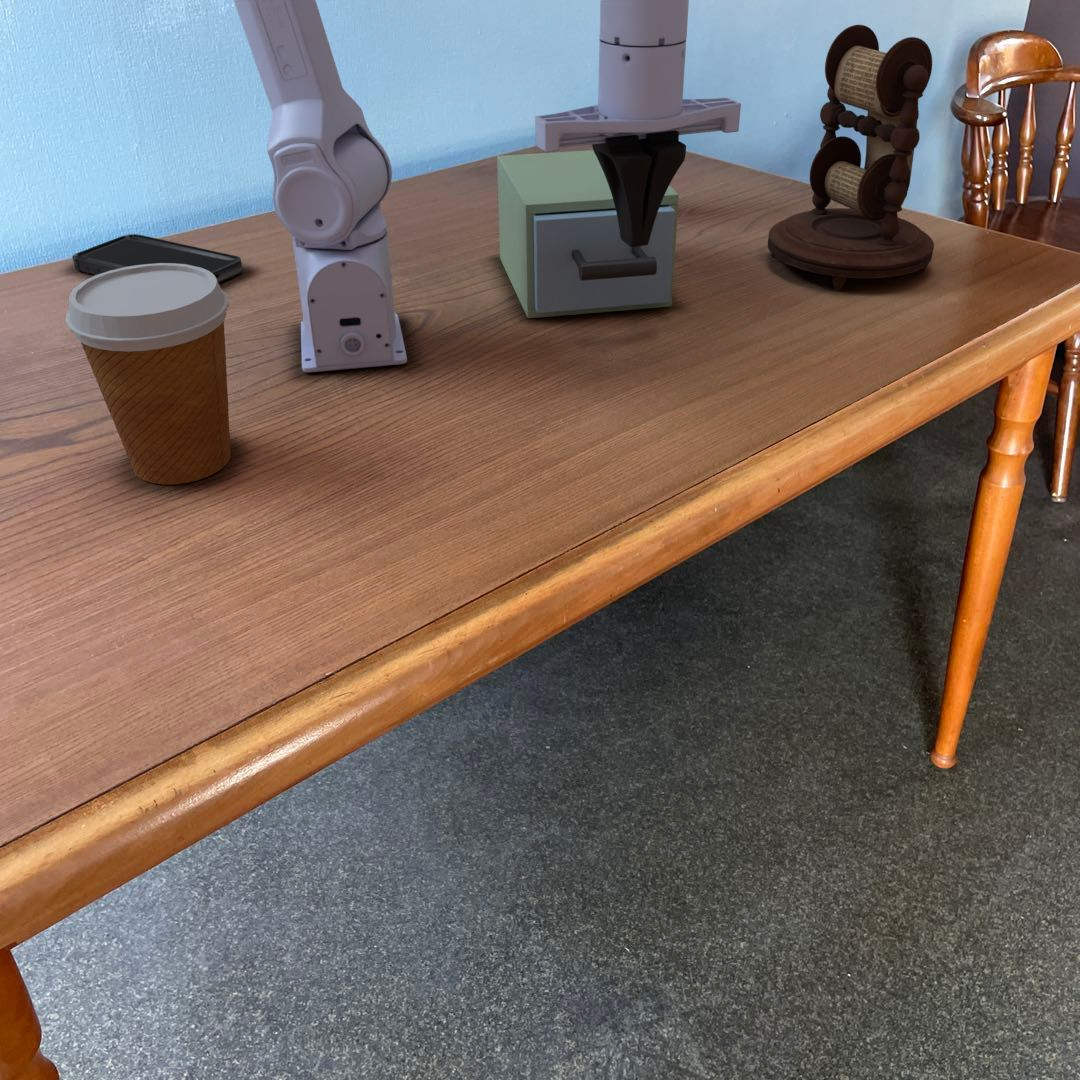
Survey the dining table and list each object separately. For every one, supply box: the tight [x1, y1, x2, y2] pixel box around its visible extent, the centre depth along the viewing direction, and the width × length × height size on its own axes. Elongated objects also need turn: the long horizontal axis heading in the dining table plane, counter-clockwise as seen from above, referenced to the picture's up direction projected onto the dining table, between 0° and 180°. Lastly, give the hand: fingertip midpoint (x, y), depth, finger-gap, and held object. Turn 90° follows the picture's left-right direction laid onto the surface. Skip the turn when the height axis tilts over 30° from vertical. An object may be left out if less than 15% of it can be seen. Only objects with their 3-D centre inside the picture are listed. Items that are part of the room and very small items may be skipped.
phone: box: [71, 233, 244, 284], centre depth 101 cm, size 8×1×15 cm
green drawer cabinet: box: [496, 149, 680, 319], centre depth 96 cm, size 15×13×10 cm
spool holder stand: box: [767, 24, 935, 291], centre depth 96 cm, size 15×15×20 cm
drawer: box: [534, 206, 675, 313], centre depth 92 cm, size 18×11×8 cm, turn 11°
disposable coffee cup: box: [65, 263, 232, 485], centre depth 69 cm, size 10×10×12 cm
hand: (634, 242), depth 79 cm, fingers closed
